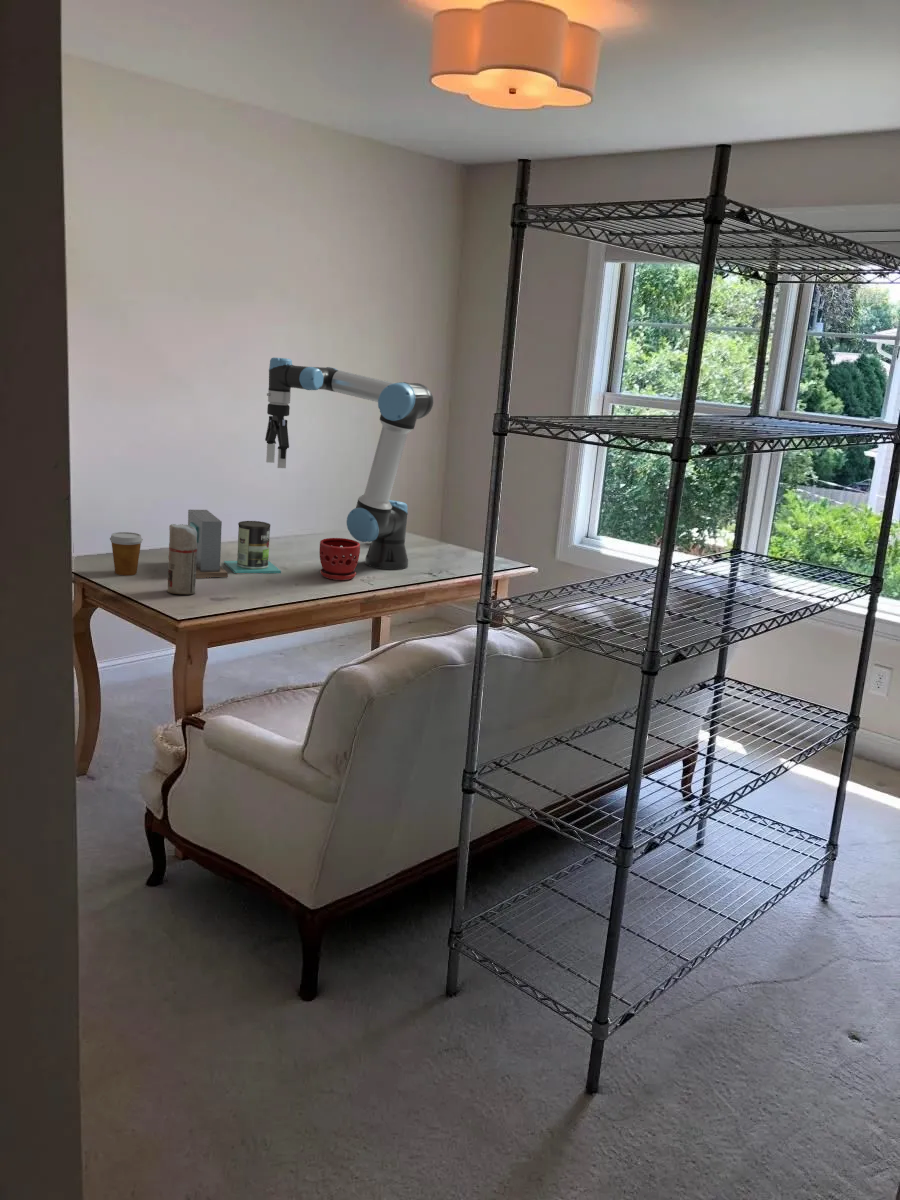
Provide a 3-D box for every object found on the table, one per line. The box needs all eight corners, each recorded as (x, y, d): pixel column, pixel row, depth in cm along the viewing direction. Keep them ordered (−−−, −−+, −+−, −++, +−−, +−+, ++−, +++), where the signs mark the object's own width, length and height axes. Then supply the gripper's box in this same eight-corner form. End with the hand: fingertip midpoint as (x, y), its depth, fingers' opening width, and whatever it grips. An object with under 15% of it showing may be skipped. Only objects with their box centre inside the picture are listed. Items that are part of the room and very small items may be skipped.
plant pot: (310, 574, 324) (312, 538, 321) (344, 571, 332) (347, 536, 329) (330, 583, 314) (333, 546, 311) (365, 580, 322) (368, 544, 319)
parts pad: (280, 573, 321) (281, 570, 321) (235, 574, 315) (235, 571, 315) (267, 562, 334) (268, 560, 334) (223, 563, 328) (223, 560, 327)
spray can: (169, 587, 291) (171, 521, 286) (197, 589, 292) (199, 523, 287) (163, 595, 283) (165, 526, 278) (193, 597, 284) (195, 528, 279)
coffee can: (273, 564, 329) (275, 523, 325) (261, 570, 319) (263, 528, 315) (244, 560, 330) (245, 519, 327) (231, 566, 320) (233, 524, 317)
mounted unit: (227, 577, 309) (229, 522, 305) (195, 578, 305) (197, 522, 300) (209, 560, 330) (211, 508, 325) (179, 560, 325) (180, 508, 321)
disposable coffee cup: (148, 572, 306) (149, 534, 303) (129, 578, 297) (129, 539, 294) (122, 568, 309) (123, 530, 306) (102, 573, 300) (103, 534, 297)
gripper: (258, 399, 349) (255, 459, 354) (278, 406, 328) (275, 470, 333) (278, 401, 352) (275, 460, 358) (300, 407, 331) (297, 470, 336)
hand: (275, 465), depth 345 cm, fingers open, 13 cm apart
